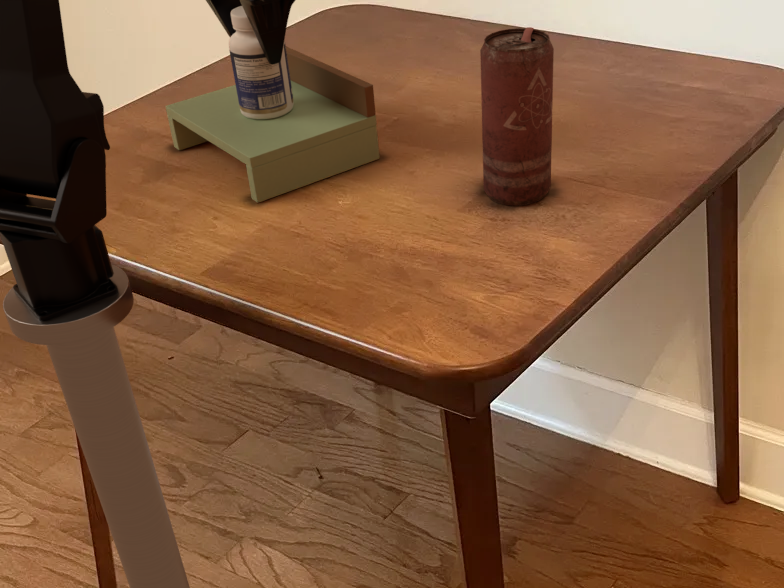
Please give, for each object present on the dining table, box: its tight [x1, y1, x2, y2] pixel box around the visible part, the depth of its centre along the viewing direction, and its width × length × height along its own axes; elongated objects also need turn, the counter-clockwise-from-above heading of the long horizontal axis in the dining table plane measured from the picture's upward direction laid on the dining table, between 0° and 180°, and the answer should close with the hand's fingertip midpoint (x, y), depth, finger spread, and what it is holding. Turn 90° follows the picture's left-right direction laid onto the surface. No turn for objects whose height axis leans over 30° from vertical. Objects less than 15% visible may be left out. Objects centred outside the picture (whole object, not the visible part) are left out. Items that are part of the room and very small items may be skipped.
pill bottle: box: [228, 6, 294, 119], centre depth 99 cm, size 5×5×10 cm
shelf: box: [165, 46, 381, 204], centre depth 103 cm, size 14×18×8 cm
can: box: [479, 26, 555, 207], centre depth 90 cm, size 6×6×14 cm
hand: (258, 55), depth 99 cm, fingers open, 6 cm apart
